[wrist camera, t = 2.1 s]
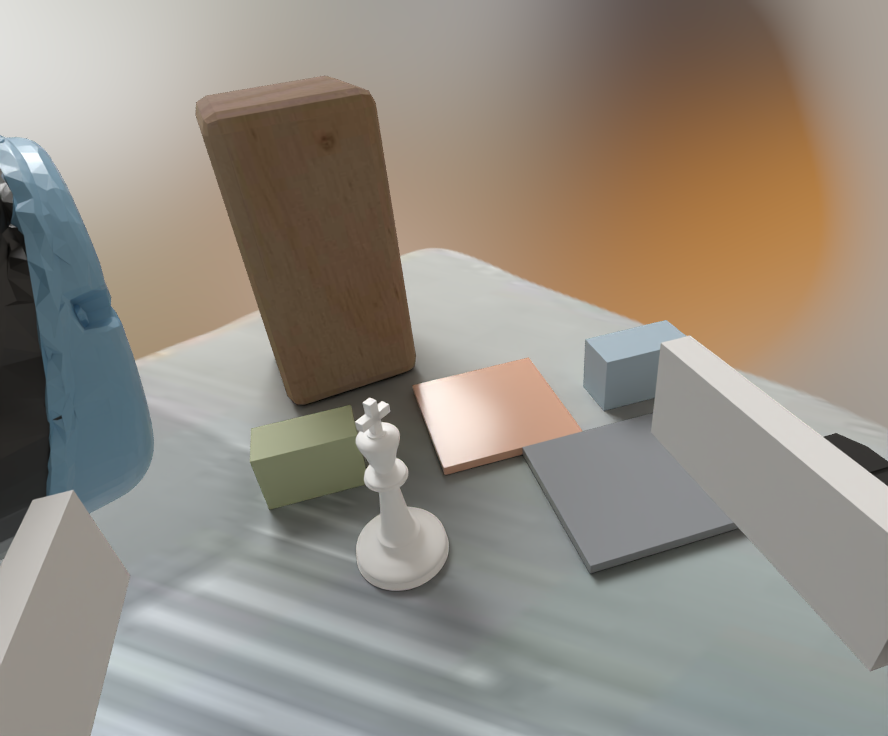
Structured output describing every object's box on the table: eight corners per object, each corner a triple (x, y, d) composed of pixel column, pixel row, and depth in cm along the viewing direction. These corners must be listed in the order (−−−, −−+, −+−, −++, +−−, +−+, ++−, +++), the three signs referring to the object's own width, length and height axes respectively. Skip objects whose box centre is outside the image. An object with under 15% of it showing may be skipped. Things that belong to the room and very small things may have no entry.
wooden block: (422, 372, 44) (377, 86, 32) (293, 414, 41) (196, 118, 30) (382, 317, 52) (335, 72, 40) (272, 350, 49) (189, 96, 38)
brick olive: (269, 511, 34) (249, 461, 31) (269, 476, 36) (251, 428, 34) (369, 484, 35) (356, 435, 32) (362, 452, 37) (350, 404, 35)
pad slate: (589, 573, 28) (590, 566, 27) (522, 454, 35) (522, 447, 35) (751, 523, 29) (754, 516, 29) (654, 419, 37) (655, 412, 36)
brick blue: (603, 412, 38) (607, 362, 36) (583, 387, 40) (585, 339, 38) (684, 391, 39) (692, 341, 37) (659, 368, 41) (666, 320, 39)
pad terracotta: (444, 475, 34) (443, 468, 34) (413, 391, 42) (412, 385, 41) (582, 438, 36) (582, 431, 35) (528, 364, 43) (528, 357, 43)
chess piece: (467, 539, 30) (449, 389, 25) (406, 609, 27) (369, 456, 22) (400, 501, 33) (369, 358, 27) (337, 560, 30) (288, 413, 24)
